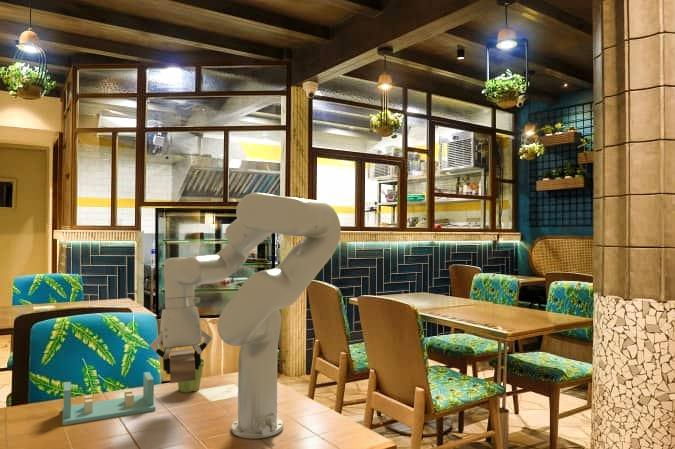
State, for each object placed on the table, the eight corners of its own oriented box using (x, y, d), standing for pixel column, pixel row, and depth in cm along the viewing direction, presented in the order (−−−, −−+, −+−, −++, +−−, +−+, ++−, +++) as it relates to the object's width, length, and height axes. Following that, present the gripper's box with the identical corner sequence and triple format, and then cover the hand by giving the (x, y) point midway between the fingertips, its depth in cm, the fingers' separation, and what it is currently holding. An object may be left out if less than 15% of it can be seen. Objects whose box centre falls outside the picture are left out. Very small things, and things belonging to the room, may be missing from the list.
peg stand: (148, 397, 144) (149, 370, 145) (155, 410, 134) (155, 380, 134) (62, 410, 134) (63, 380, 134) (62, 425, 123) (62, 393, 123)
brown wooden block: (195, 380, 125) (194, 360, 125) (170, 383, 123) (169, 362, 123) (193, 366, 140) (192, 348, 140) (170, 368, 138) (170, 350, 138)
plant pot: (209, 385, 156) (209, 357, 156) (198, 395, 147) (198, 365, 147) (180, 384, 157) (181, 357, 157) (167, 394, 148) (168, 364, 148)
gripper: (209, 299, 140) (211, 363, 139) (143, 305, 131) (145, 373, 131) (216, 301, 133) (218, 368, 133) (147, 308, 125) (150, 379, 124)
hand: (182, 370), depth 132 cm, fingers closed on brown wooden block, 6 cm apart
